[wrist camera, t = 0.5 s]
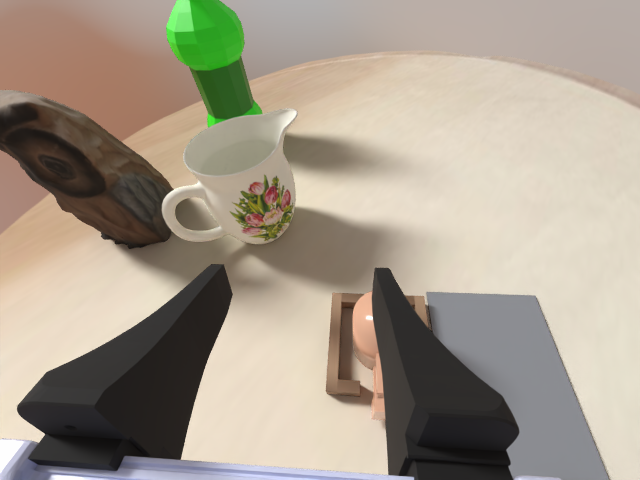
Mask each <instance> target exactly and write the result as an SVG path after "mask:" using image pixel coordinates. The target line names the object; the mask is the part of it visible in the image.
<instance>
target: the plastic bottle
mask: <svg viewBox="0 0 640 480" xmlns="http://www.w3.org/2000/svg"><path fill="white" fill-rule="evenodd" d="M166 30H167V39H168V42H169V44H170V46H171V49H172V51H173V52H174V54H175V55H176V56H177V58H178V60H180V61H181V62H183V63H184V64H186V65H187V66H189V68H190V70H191V72H192V75H193V77H194V80H195V82H196V84H197V87H198V89H199V91H200V94H201V96H202V99H203V101H204V104H205V106H206V108H207V111H208V118H207V120H208V127H211V126H213V125H215V124H217V123H219V122H222V121H225V120H228V119H231V118H235V117H240V116H247V115H260V114H262V110H261V109H260V107H259V106H258V104H257V103H256V102H255V101H254V100H253V97H252V94H251V90H250V87H249V83H248V79H247V76H246V72H245V69H244V65H243V62H242V58H241V53H242V51H243V47H244V33H243V29H242V25H241V22H240V20H239V19H238V17H237V15H236V13H235V12H234V11H233V10H231V9H230V8H229V7H227V6H226V5H225V4H223V3H222V2H221V1H219V0H177V1H176V4H175V6H174V8H173V10H172V13H171V16H170V18H169V21H168V24H167V27H166Z"/></svg>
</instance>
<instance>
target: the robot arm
mask: <svg viewBox="0 0 640 480" xmlns="http://www.w3.org/2000/svg"><path fill="white" fill-rule="evenodd" d="M232 295H233V294H232V291H231V287H230V284H229V281H228V277H227V274H226V271H225V267H224V264H211V265H210V266H209V267H207V268H206V269H205V270H204V271H203V272H202V273H201V274H200V275H199V276H197V277H196V278H195V279H194V280H193V281H192V282H191V283H190V284H188V285H187V286H186V287H185V288H184V289H183V290H182V291H180V292H179V293H178V294H177V295H176V296H174V297H173V298H172V299H171V300H169V301H168V302H167V303H166V304H164V305H163V306H162V307H161V308H159V309H158V310H157V311H156V312H154V313H153V314H151V315H150V316H149V317H147V318H146V319H144V320H143V321H141V322H140V323H138V324H137V325H135V326H134V327H132V328H131V329H129V330H127V331H126V332H124V333H122V334H121V335H119V336H117V337H116V338H114V339H113V340H111V341H109V342H107V343H105V344H104V345H102V346H100V347H98V348H96V349H94V350H92V351H90V352H89V353H87V354H85V355H83V356H81V357H79V358H76V359H74V360H72V361H70V362H68V363H66V364H64V365H61V366H59V367H57V368H55V369H53V370H50V371H48V372H46V374H45V375H44V376H43V377H42V378H41V379H40V380H39V382H38V383H37V384H36V385H35V386H34V387H33V388H32V390H31V391H30V392H29V393H28V394H27V395H26V396H25V398H24V399H23V400H22V401H21V402H20V403H19V405H18V406H17V411H18V413H19V415H20V416H21V417H22V418H23V419H25V420H26V421H27V422H29V423H30V424H32V425H33V426H35V427H36V428H37V429H39V430H40V431H42V432H43V433H45V436H44V437H43V438H42V440H41V441H40V442H39V443H37V442H34V441H29V440H18V439H4V438H3V439H0V480H561V479H559V478H554V477H540V476H516V477H513V478H512V475H511V472H510V470H509V467H508V466H510V465H511V461H510V458H509V456H508V453H507V451H506V450H507V449H508V447H509V446H510V445H511V444H512V443H513V442H514V441H515V440H516V438H517V437H518V435H519V433H520V432H519V427H518V425H517V422H516V420H515V418H514V416H513V414H512V412H511V410H510V408H509V406H508V405H507V403H506V401H505V399H504V398H503V396H502V395H501V394H499V393H498V392H497V391H496V390H494V389H493V388H492V387H490V386H489V385H488V384H487V383H485V382H484V381H483V380H481V379H480V378H479V377H478V376H476V375H475V374H474V373H473V372H472V371H471V370H470V369H468V368H467V367H466V366H465V365H464V364H463V363H462V362H461V361H460V360H459V359H458V358H457V357H456V356H454V355H453V354H452V353H451V352H450V351H449V350H448V349H447V348H446V347H445V346H444V345H443V344H442V343H441V341H440V340H439V339H438V338H437V337H436V336H435V335H434V334H433V333H432V332H431V330H430V329H429V328H428V327H427V326H426V324H425V323H424V322H423V321H422V319H421V318H420V317H419V315H418V314H417V313H416V311H415V310H414V309H413V307H412V306H411V304H410V303H409V301H408V300H407V298H406V297H405V295H404V294H403V292H402V291H401V289H400V287H399V285H398V284H397V282H396V280H395V278H394V276H393V274H392V272H391V270H390V269H389V268H375V272H374V281H373V290H372V314H373V323H374V328H375V334H376V340H377V346H378V351H379V357H380V363H381V370H382V380H383V393H384V406H385V421H386V437H387V454H388V474H389V475H379V474H366V473H352V472H338V471H325V470H311V469H297V468H284V467H270V466H257V465H243V464H229V463H216V462H202V461H188V460H181V456H182V451H183V447H184V442H185V438H186V433H187V429H188V425H189V421H190V418H191V414H192V410H193V406H194V402H195V399H196V395H197V392H198V388H199V385H200V382H201V379H202V375H203V372H204V369H205V366H206V363H207V360H208V358H209V355H210V353H211V351H212V348H213V346H214V344H215V341H216V339H217V337H218V334H219V332H220V330H221V327H222V325H223V323H224V320H225V318H226V315H227V313H228V309H229V306H230V302H231V298H232Z"/></svg>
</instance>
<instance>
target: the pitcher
mask: <svg viewBox="0 0 640 480" xmlns="http://www.w3.org/2000/svg"><path fill="white" fill-rule="evenodd" d="M296 117H297V111H296V110H294V109H289V108H287V109H281V110H276V111H272V112H269V113H266V114H260V115H247V116H240V117H235V118H231V119H228V120H225V121H222V122H219V123H217V124H215V125H213V126H211V127H209V128H207V129H205V130H203V131H202V132H200V133H199V134H198V135H196V136H195V137H194V138H193V139H192V140H191V141H190V142H189V143H188V145H187V146H186V148H185V151H184V155H183V159H184V162H185V164H186V166H187V168H188V169H189V170H190V171H191V172H192V173H193V174H194V175H195V177H196V178H197V179H198V182H197V183H196V184H195V185H191V186H183V187H180V188H177V189H175V190H173V191H171V192H170V193H169V194H167V195H166V197H165V198H164V200H163V203H162V214H163V217H164V220H165V222H166V224H167V225H168V227H169V228H170V229H171V231H172V232H173V233H175V234H176V235H177V236H178V237H180V238H182V239H184V240H187V241H193V242H206V241H211V240H215V239H218V238H221V237H224V236H226V235H232V236H234V237H235V238H237V239H239V240H241V241H244V242H247V243H252V244H266V243H270V242H272V241H274V240H276V239H277V238H279V237H280V236H281V235H282V234H283V233H284V231H285V230H286V229H287V228H288V226H289V224H290V222H291V220H292V217H293V213H294V209H295V201H296V191H295V183H294V178H293V174H292V171H291V168H290V165H289V163H288V161H287V159H286V157H285V155H284V153H283V141H284V137H285V133H286V131H287V129H288V128H289V127H290V125H291V124H292V123H293V122H294V121H295V119H296ZM192 197H197V198H201V199H203V201H204V204H205V206H206V207H207V209H208V211H209V213H210V214H211V215H212V217H213V218H214V219H215V221H216V222H217V223H218V224H219V226H218V227H216V228H214V229H210V230H205V231H195V230H189V229H186V228H185V227H183V226H182V225H181V224H180V223H179V222H178V221H177V219H176V216H175V209H176V206H177V204H178V203H179V202H180V201H182V200H184V199H187V198H192Z"/></svg>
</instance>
